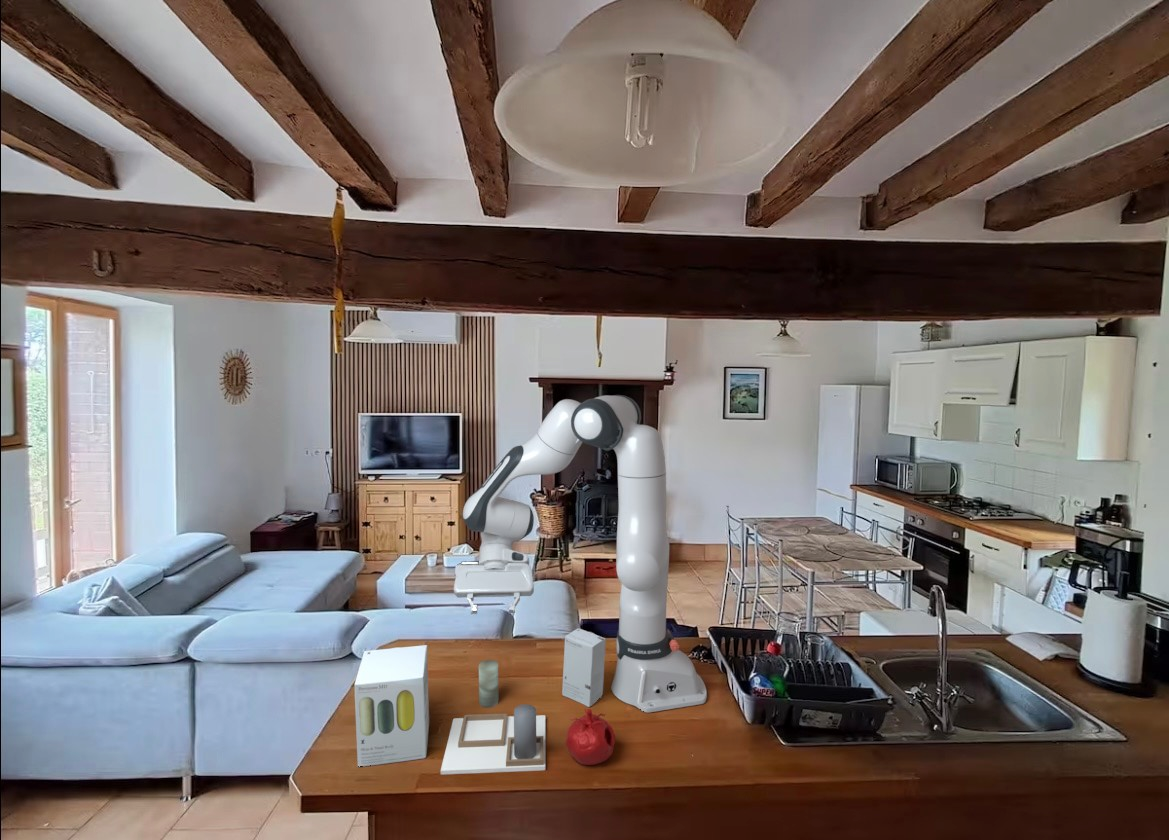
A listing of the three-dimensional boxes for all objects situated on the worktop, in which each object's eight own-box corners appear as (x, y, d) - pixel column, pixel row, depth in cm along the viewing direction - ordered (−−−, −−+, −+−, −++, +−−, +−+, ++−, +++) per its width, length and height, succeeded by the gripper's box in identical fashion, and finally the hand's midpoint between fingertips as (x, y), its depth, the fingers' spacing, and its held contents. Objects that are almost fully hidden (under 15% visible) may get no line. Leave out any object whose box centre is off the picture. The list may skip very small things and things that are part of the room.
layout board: (545, 718, 129) (545, 676, 128) (545, 770, 113) (545, 723, 112) (453, 721, 128) (452, 679, 127) (440, 774, 112) (439, 726, 111)
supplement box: (356, 769, 113) (352, 684, 111) (366, 726, 126) (363, 649, 124) (426, 759, 116) (424, 676, 114) (429, 718, 129) (427, 643, 127)
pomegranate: (572, 777, 112) (571, 732, 111) (560, 742, 121) (560, 701, 120) (621, 766, 114) (621, 723, 113) (606, 733, 124) (606, 693, 123)
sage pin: (499, 695, 138) (498, 659, 136) (497, 707, 133) (497, 669, 132) (480, 696, 137) (479, 660, 136) (478, 707, 133) (477, 670, 132)
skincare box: (561, 696, 138) (561, 636, 136) (576, 684, 143) (576, 626, 141) (591, 708, 133) (591, 646, 131) (605, 696, 138) (606, 636, 136)
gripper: (454, 556, 151) (448, 609, 142) (533, 554, 152) (533, 607, 144) (457, 566, 156) (452, 618, 147) (534, 565, 157) (533, 616, 149)
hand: (492, 612), depth 145 cm, fingers open, 8 cm apart
